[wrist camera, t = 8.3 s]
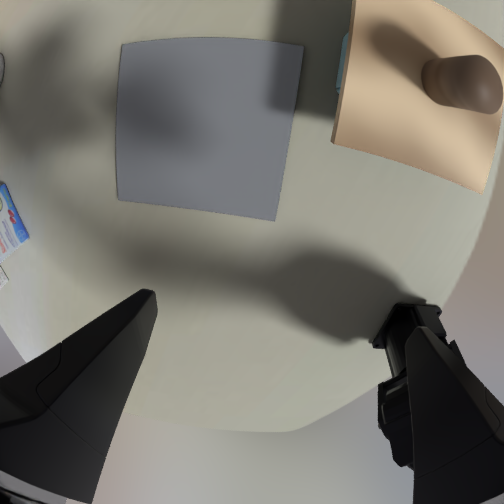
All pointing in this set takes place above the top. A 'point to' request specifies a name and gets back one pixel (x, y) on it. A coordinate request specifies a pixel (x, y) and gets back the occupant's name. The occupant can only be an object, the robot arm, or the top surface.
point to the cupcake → (1, 68)
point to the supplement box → (2, 278)
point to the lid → (421, 89)
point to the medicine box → (10, 226)
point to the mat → (206, 123)
